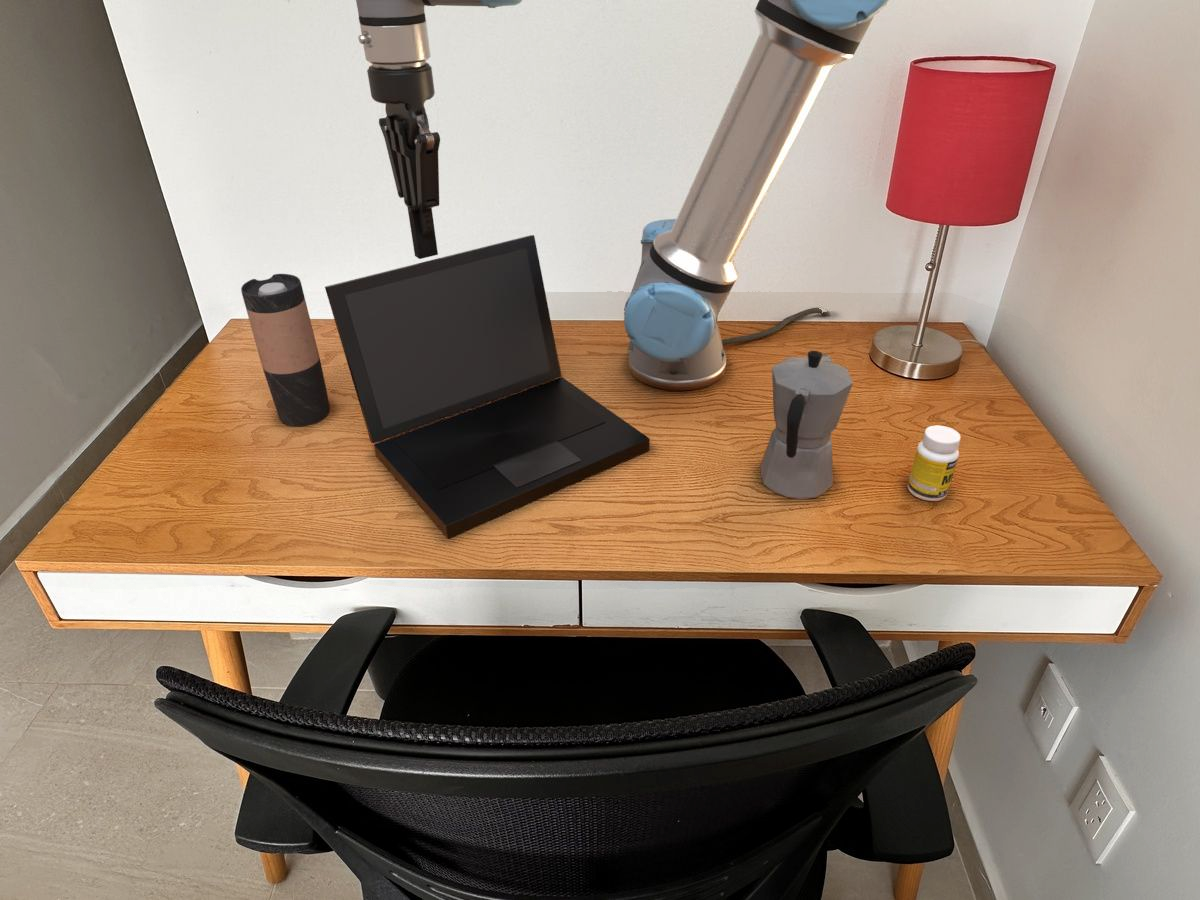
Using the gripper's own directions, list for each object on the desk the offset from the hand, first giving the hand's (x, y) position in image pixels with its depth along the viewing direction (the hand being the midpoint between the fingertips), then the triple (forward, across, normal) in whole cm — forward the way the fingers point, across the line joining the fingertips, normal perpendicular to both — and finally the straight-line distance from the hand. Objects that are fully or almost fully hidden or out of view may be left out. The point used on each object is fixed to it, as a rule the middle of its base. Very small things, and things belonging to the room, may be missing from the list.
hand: (426, 255), depth 107 cm
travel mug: (+22, -7, -19) cm, 30 cm away
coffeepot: (+22, +46, +25) cm, 57 cm away
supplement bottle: (+22, +57, +37) cm, 72 cm away
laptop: (+22, +20, 0) cm, 29 cm away
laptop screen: (+10, +6, 0) cm, 12 cm away
